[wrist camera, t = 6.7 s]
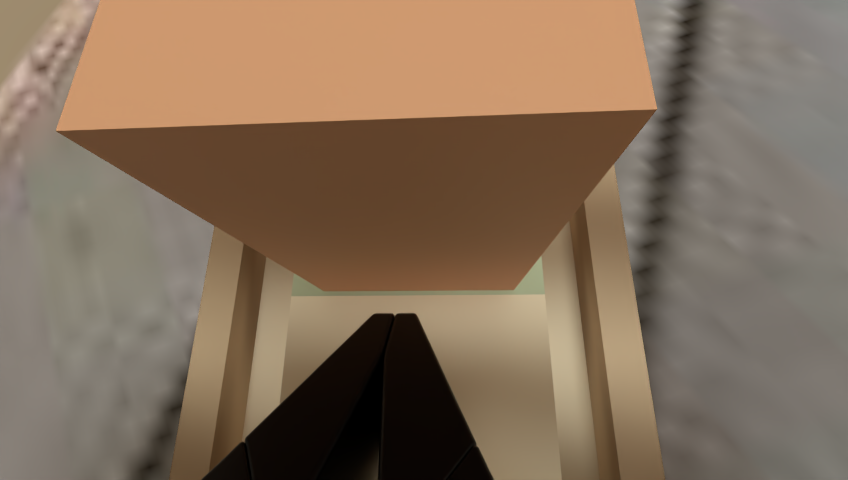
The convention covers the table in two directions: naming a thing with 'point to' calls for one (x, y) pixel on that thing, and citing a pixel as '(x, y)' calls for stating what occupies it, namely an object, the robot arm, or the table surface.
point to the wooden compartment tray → (447, 354)
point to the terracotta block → (368, 125)
